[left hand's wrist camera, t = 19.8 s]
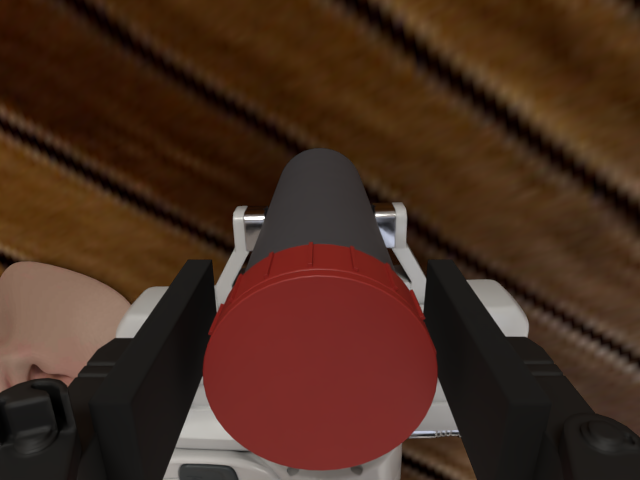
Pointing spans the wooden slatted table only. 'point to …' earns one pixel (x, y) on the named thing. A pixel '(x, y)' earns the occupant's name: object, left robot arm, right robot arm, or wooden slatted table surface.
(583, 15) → the wooden slatted table surface
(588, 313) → the wooden slatted table surface
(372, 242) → the jar
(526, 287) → the wooden slatted table surface
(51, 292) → the anatomical model
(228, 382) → the lid
